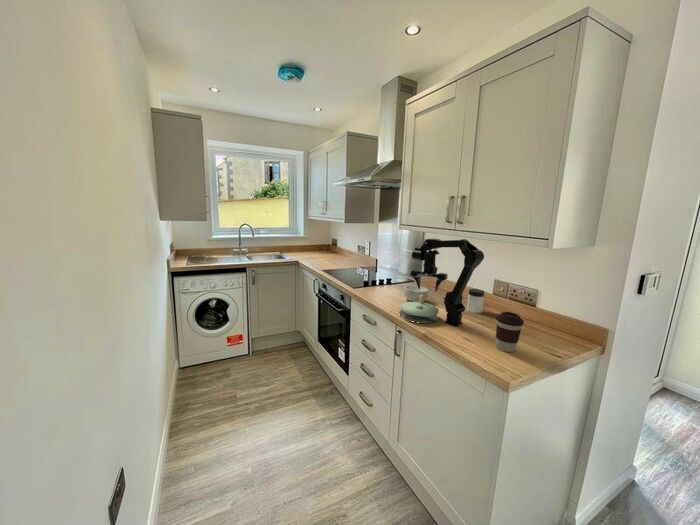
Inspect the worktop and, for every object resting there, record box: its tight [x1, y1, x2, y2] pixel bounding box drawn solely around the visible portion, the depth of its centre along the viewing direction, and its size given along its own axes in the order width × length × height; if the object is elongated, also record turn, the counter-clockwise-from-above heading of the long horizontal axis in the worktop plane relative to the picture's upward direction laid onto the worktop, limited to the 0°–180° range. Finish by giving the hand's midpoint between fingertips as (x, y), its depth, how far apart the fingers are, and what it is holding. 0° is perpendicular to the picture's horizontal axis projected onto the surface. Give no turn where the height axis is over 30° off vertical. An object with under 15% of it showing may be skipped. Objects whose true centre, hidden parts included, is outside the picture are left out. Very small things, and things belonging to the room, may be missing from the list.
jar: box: [466, 288, 485, 314], centre depth 168 cm, size 9×8×12 cm
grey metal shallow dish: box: [398, 309, 439, 324], centre depth 154 cm, size 20×20×4 cm
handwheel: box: [399, 295, 439, 317], centre depth 153 cm, size 20×20×6 cm
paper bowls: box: [403, 284, 430, 302], centre depth 183 cm, size 15×15×8 cm
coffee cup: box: [495, 311, 525, 353], centre depth 121 cm, size 10×10×15 cm
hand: (427, 290), depth 159 cm, fingers open, 9 cm apart
